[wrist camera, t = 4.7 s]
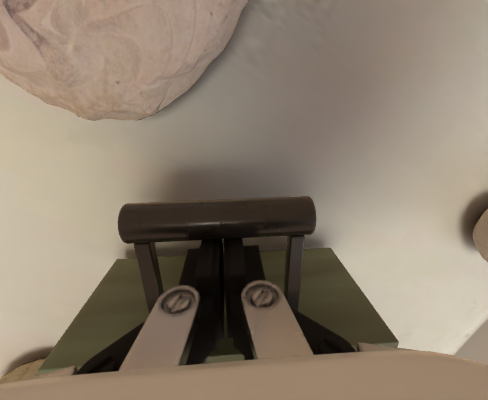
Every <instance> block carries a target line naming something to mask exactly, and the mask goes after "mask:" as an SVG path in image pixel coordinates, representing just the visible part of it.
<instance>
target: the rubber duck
mask: <svg viewBox="0 0 488 400" xmlns="http://www.w3.org/2000/svg"><path fill="white" fill-rule="evenodd" d="M473 241H474V243H475V245H476V247H477V249H478V251H479V253H480V255H481V256H482V257H483V259H485V260H486V261H487V262H488V209H487V210H486V211H485V212H484V213H483V214H482V216H481V217H480V219H479V220H478V222H477V223H476V225H475V227H474V230H473Z"/></svg>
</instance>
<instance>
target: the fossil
mask: <svg viewBox="0 0 488 400" xmlns="http://www.w3.org/2000/svg"><path fill="white" fill-rule="evenodd" d="M248 1H249V0H0V73H1V74H2V75H3V76H4V77H5V78H7V79H8V80H10V81H11V82H13V83H15V84H16V85H18V86H20V87H22V88H23V89H25V90H26V91H27V92H29V93H31V94H32V95H34V96H36V97H38V98H40V99H41V100H43V101H44V102H46V103H47V104H51V105H54V106H58V107H62V108H64V109H67V110H69V111H71V112H73V113H75V114H76V115H77V116H78V117H82V118H85V119H88V120H94V121H95V120H99V119H110V118H112V119H120V120H141V119H143V118H145V117H147V116H152V115H154V113H156V112H158V111H160V110H161V109H162V108H164V107H166V106H168V105H169V104H170V103H171V102H173V101H174V100H175V99H176V98H177V97H179V96H180V95H182V94H184V93H185V92H186V91H187V90H188V89H190V88H191V86H192V85H193V84H194V83H195V82H196V81H197V80H198V79H199V77H200V76H201V75H202V74H203V72H204V71H205V69H206V68H207V67H208V65H209V64H210V62H211V61H213V60H214V59H215V58H216V57H218V55H219V54H220V53H221V52H222V51H223V50H224V48H225V47H226V45H227V43H228V42H229V40H230V38H231V36H232V34H233V32H234V30H235V27H236V25H237V22H238V19H239V16H240V14H241V12H242V10H243V9H244V7H245V6H246V5H247V3H248Z"/></svg>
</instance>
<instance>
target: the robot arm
mask: <svg viewBox="0 0 488 400" xmlns="http://www.w3.org/2000/svg"><path fill="white" fill-rule="evenodd" d="M224 293H225V304H226V318H227V332H228V339H229V338H233V346H234V348H235V349H237V350H238V351H239V352H240V353H241V354H242V355H243V357H244V361H231V362H219V363H208V356H209V355H210V354H211V353H212V352H213V351H214V350H215V349H218V341H219V339H224ZM0 400H488V365H486V364H483V363H480V362H477V361H473V360H469V359H465V358H462V357H458V356H454V355H448V354H442V353H436V352H428V351H417V350H410V349H403V348H396V347H388V346H381V345H374V344H367V343H360V342H358V344H357V346H354V345H351V344H350V343H349V342H348V341H346V340H345V339H344V338H342V337H341V336H339V335H337V334H336V333H334V332H332V331H331V330H329V329H327V328H325V327H324V326H322V325H320V324H319V323H317V322H315V321H314V320H312V319H310V318H308V317H307V316H305V315H303V314H302V313H300V312H298V311H296V310H295V309H293V308H291V307H290V306H289V304H288V302H287V300H286V298H285V296H284V294H283V292H282V290H281V289H280V288H279V286H277V285H276V284H275V283H272V282H270V281H266V279H265V274H264V270H263V265H262V261H261V256H260V251H259V247H258V245H250V246H243V241H242V238H230V239H224V254H223V240H222V239H210V240H202V241H201V246H200V248H198V249H188V252H187V256H186V259H185V263H184V267H183V271H182V274H181V278H180V282H179V285H178V286H175V287H172V288H170V289H168V290H166V291H165V292H164V293H162V294H161V296H160V297H159V298H158V300H157V302H156V303H155V305H154V307H153V309H152V311H151V312H150V314H149V316H148V318H147V320H146V321H144V322H143V323H141V324H140V325H138V326H137V327H135V328H134V329H133V330H131V331H130V332H128V333H127V334H125V335H124V336H122V337H121V338H119V339H118V340H117V341H115V342H114V343H112V344H111V345H109V346H108V347H106V348H105V349H104V350H102V351H101V352H99V353H98V354H96V355H95V356H93V357H92V358H91V359H90V360H88V361H87V362H86V363H85V364H84V365H83V366H82V367H81V368H78V369H77V366H76V365H74V366H71V367H67V368H64V369H60V370H57V371H53V372H50V373H46V374H43V375H39V376H36V377H32V378H29V379H25V380H22V381H18V382H12V383H5V384H0Z"/></svg>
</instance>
